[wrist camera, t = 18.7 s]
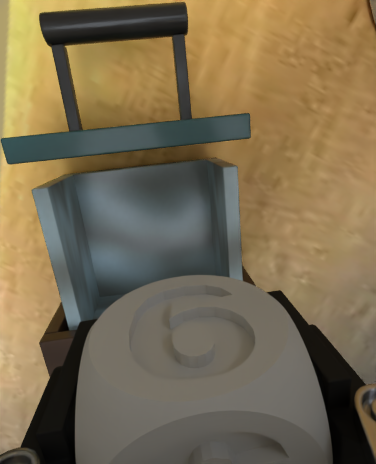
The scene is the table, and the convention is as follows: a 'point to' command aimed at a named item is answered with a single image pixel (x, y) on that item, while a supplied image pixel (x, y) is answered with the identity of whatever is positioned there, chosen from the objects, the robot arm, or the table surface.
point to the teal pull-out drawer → (132, 178)
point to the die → (198, 380)
